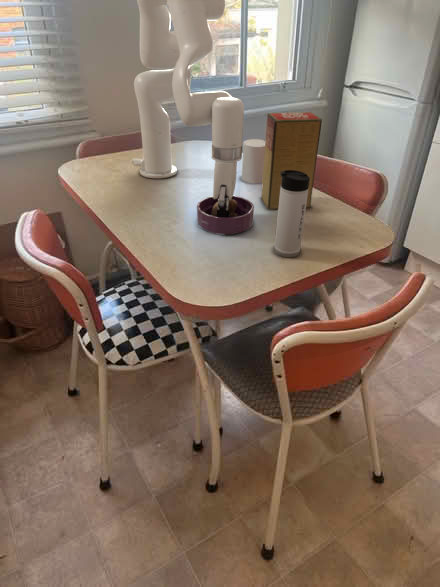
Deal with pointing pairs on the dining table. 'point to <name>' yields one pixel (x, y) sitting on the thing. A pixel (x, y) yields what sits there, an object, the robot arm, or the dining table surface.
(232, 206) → the mushroom
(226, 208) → the robot arm
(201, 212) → the bowl
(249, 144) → the white cylinder
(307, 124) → the food packaging
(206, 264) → the dining table surface
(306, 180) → the travel mug
